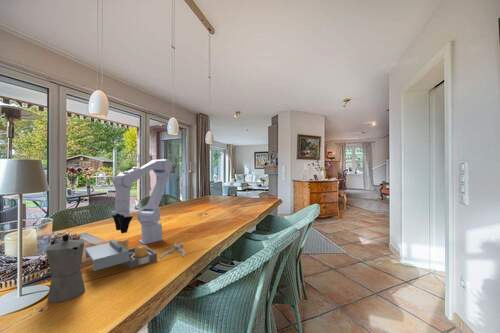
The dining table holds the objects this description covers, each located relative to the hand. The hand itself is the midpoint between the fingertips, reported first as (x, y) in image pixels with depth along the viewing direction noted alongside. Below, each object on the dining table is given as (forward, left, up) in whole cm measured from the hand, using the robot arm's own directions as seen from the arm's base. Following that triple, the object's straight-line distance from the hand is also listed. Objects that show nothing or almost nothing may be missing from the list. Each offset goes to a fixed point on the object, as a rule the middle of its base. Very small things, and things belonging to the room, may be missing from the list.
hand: (121, 231), depth 99 cm
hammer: (-18, +16, -10) cm, 26 cm away
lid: (+8, +13, -6) cm, 17 cm away
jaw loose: (-1, 0, -10) cm, 10 cm away
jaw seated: (-3, +17, -9) cm, 20 cm away
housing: (-3, +13, -10) cm, 16 cm away
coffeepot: (+21, +23, -10) cm, 33 cm away
